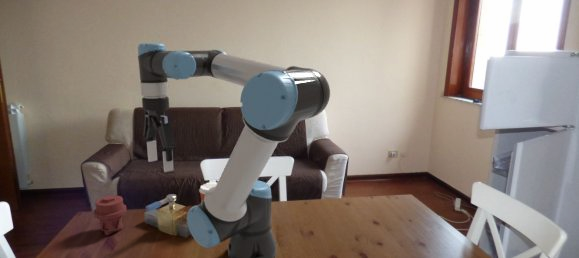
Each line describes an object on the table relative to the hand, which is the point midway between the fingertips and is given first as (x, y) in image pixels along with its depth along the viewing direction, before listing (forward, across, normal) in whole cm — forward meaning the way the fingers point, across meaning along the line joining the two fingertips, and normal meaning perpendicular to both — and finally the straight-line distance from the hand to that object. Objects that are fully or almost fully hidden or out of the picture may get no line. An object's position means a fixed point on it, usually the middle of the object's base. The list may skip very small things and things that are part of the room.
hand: (160, 165), depth 114 cm
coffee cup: (+26, 0, -17) cm, 31 cm away
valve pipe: (+26, +8, -5) cm, 28 cm away
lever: (+15, +5, -1) cm, 16 cm away
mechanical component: (+26, +18, +11) cm, 34 cm away
